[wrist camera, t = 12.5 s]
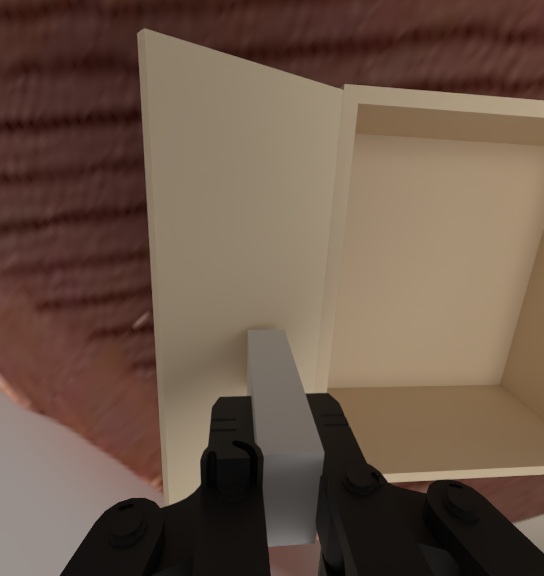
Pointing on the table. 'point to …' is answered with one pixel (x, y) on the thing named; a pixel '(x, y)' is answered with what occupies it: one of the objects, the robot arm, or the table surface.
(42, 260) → the table surface
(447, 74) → the table surface
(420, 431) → the carton
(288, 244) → the flap
